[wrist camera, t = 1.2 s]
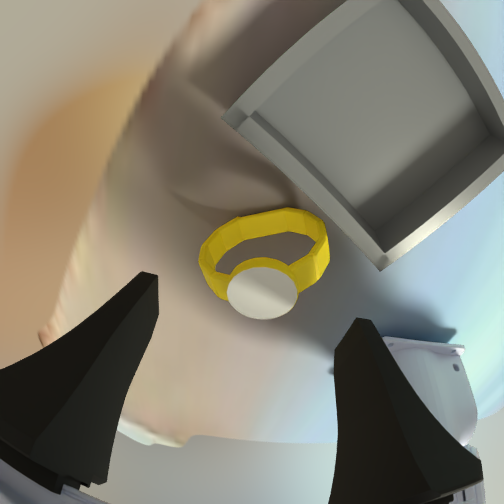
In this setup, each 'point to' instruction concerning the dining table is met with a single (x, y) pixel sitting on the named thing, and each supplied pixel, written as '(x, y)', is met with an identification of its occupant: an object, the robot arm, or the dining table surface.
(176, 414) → the dining table surface
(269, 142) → the box
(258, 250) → the dining table surface
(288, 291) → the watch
